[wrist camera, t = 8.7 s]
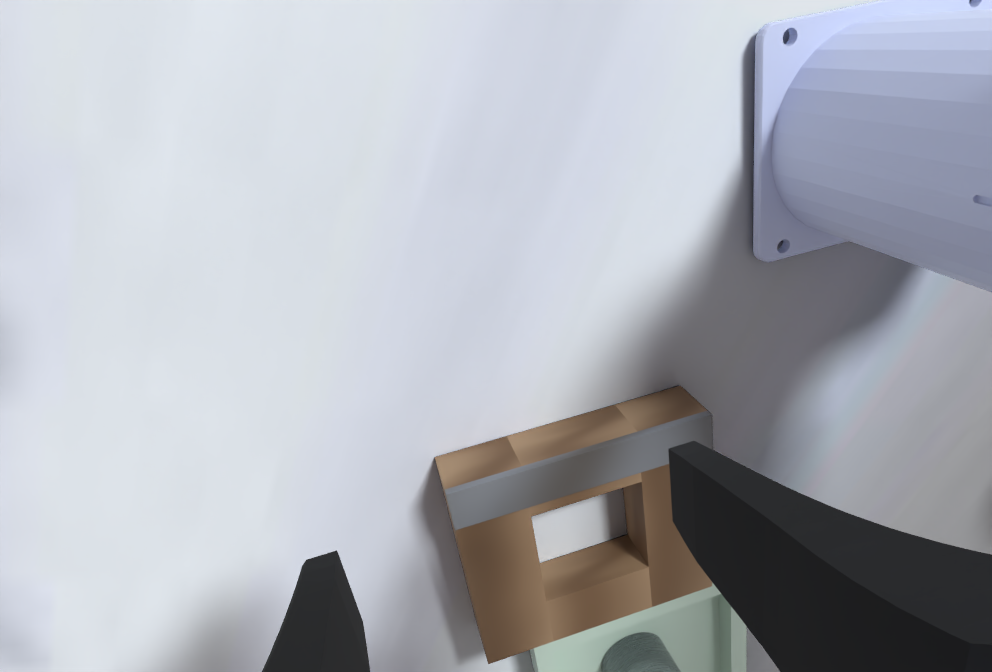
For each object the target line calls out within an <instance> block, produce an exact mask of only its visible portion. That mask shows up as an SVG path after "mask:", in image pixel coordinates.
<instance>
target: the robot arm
mask: <svg viewBox="0 0 992 672" xmlns="http://www.w3.org/2000/svg"><path fill="white" fill-rule="evenodd" d="M786 30H788V31H789V40H788V41H787V43H786V44H784V43H783V34H784V32H785V31H786ZM782 240H783V244H782V246H781V248H780V249H778V250H777V246H778V244H779V242H780V241H782ZM848 241H850V242H853V243H856V244H859V245H861V246H864V247H867V248H870V249H872V250H875V251H878V252H881V253H884V254H886V255H889V256H892V257H895V258H898V259H900V260H903V261H906V262H909V263H911V264H914V265H917V266H920V267H923V268H925V269H928V270H931V271H934V272H937V273H939V274H942V275H945V276H948V277H950V278H953V279H956V280H959V281H962V282H964V283H967V284H970V285H973V286H976V287H978V288H981V289H984V290H987V291H989V292H992V0H971V3H970V4H969V0H880V1H875V2H870V3H865V4H860V5H855V6H850V7H845V8H840V9H835V10H830V11H825V12H820V13H815V14H810V15H805V16H800V17H795V18H790V19H785V20H780V21H775V22H770V23H768V24H765V25H764V26H763V27H762V28H761V29H760V30H759V32H758V34H757V36H756V41H755V116H754V219H753V252H754V255H755V257H756V258H757V259H759V260H761V261H764V262H772V261H776V260H780V259H784V258H787V257H791V256H795V255H799V254H802V253H806V252H810V251H814V250H818V249H821V248H825V247H829V246H833V245H836V244H840V243H844V242H848ZM668 452H669V469H670V486H671V503H672V520H673V523H674V524H675V526H676V528H677V530H678V531H679V533H680V535H681V537H682V538H683V540H684V542H685V544H686V545H687V547H688V548H689V550H690V552H691V553H692V555H693V557H694V558H695V560H696V562H697V563H698V564H699V566H700V567H701V568H702V569H703V571H704V572H705V573H706V575H707V576H708V577H709V579H710V580H711V581H712V583H713V584H714V585H715V586H716V588H717V589H718V590H719V592H720V593H721V594H722V595H723V597H724V598H725V599H726V601H727V602H728V603H729V604H730V606H731V607H732V608H733V609H734V611H735V612H736V613H737V615H738V616H739V617H740V618H741V620H742V621H743V622H744V624H745V625H746V626H747V627H748V629H749V630H750V631H751V632H752V634H753V635H754V636H755V638H756V639H757V640H758V641H759V643H760V644H761V645H762V646H763V648H764V649H765V651H766V652H767V653H768V655H769V656H770V658H771V659H772V660H773V662H774V663H775V665H776V666H777V667H778V669H779V670H780V672H992V555H991V554H986V553H981V552H977V551H972V550H968V549H964V548H959V547H955V546H951V545H947V544H943V543H940V542H936V541H932V540H929V539H925V538H922V537H918V536H915V535H911V534H908V533H904V532H901V531H898V530H895V529H891V528H888V527H885V526H882V525H879V524H877V523H874V522H871V521H868V520H865V519H862V518H860V517H857V516H854V515H851V514H848V513H846V512H843V511H841V510H838V509H836V508H833V507H831V506H828V505H826V504H824V503H821V502H819V501H817V500H814V499H812V498H810V497H807V496H805V495H803V494H800V493H798V492H796V491H794V490H792V489H790V488H787V487H785V486H783V485H781V484H779V483H777V482H775V481H773V480H771V479H769V478H767V477H765V476H763V475H761V474H759V473H757V472H755V471H753V470H751V469H749V468H747V467H745V466H743V465H741V464H739V463H737V462H735V461H733V460H731V459H729V458H727V457H725V456H723V455H722V454H720V453H718V452H716V451H714V450H712V449H710V448H708V447H706V446H704V445H702V444H700V443H698V442H696V441H691V442H688V443H685V444H682V445H678V446H675V447H672V448H669V449H668ZM262 672H370V668H369V660H368V653H367V646H366V639H365V632H364V626H363V621H362V618H361V615H360V613H359V610H358V607H357V604H356V602H355V599H354V596H353V593H352V591H351V588H350V585H349V582H348V580H347V577H346V574H345V571H344V569H343V566H342V563H341V560H340V558H339V555H338V552H337V551H334V552H331V553H327V554H324V555H321V556H318V557H314V558H311V559H308V560H306V561H305V563H304V564H303V566H302V569H301V572H300V575H299V578H298V581H297V585H296V588H295V591H294V594H293V596H292V599H291V602H290V605H289V607H288V610H287V613H286V616H285V618H284V621H283V623H282V626H281V628H280V631H279V633H278V636H277V638H276V641H275V643H274V645H273V648H272V650H271V653H270V655H269V657H268V660H267V662H266V664H265V666H264V668H263V671H262Z"/></svg>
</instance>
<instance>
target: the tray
mask: <svg viewBox="0 0 992 672" xmlns="http://www.w3.org/2000/svg"><path fill="white" fill-rule="evenodd" d="M641 632H649V633H653V634H655V635H657V636H659V637H660V639H661V640H662V642H663V643H664V645H665V647H666V648H667V650H668V651H669V653H670V655H671V656H672V658H673V660H674V661H675V663H676V664H677V666H678V668H679V669H680V671H681V672H746V638H747V626H746V625H745V624H744V622H743V621H742V620H741V618H740V617H739V616H738V615H737V613H736V612H735V611H734V609H733V608H732V607H731V606H730V604H729V603H728V602H727V601H726V599H725V598H724V597H723V595H722V594H721V593H720V592H719V590H718V589H717V588H716V586H715V585H714V584H713V583H712V586H711V587H708V588H706V589H703V590H700V591H697V592H694V593H691V594H688V595H685V596H683V597H680V598H677V599H674V600H671V601H668V602H665V603H662V604H660V605H657V606H654V607H651V608H648V609H645V610H642V611H640V612H637V613H634V614H631V615H628V616H625V617H622V618H619V619H617V620H614V621H611V622H608V623H605V624H602V625H599V626H596V627H594V628H591V629H588V630H585V631H582V632H579V633H576V634H573V635H571V636H568V637H565V638H562V639H559V640H556V641H553V642H550V643H548V644H545V645H542V646H539V647H536V648H533V649H530V654H531V659H532V664H533V669H534V672H602V670H601V665H602V661H603V658H604V656H605V655H606V653H607V652H608V650H609V649H610V648H611V647H612V646H613V645H614V644H616V643H617V642H618V641H620V640H621V639H623V638H625V637H627V636H629V635H632V634H635V633H641Z"/></svg>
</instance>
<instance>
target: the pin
mask: <svg viewBox="0 0 992 672" xmlns="http://www.w3.org/2000/svg"><path fill="white" fill-rule="evenodd" d="M601 670H602V672H681V671H680V669H679V668H678V666H677V664H676V663H675V661H674V660H673V658H672V656H671V655H670V653H669V651H668V650H667V648H666V647H665V645H664V643H663V642H662V640H661V639H660V637H659V636H657V635H655V634H653V633H649V632H641V633H635V634H632V635H629V636H627V637H625V638H623V639H621V640H620V641H618V642H617V643H616V644H614V645H613V646H612V647H611V648H610V649H609V650H608V652H607V653H606V655H605V656H604V658H603V661H602V665H601Z"/></svg>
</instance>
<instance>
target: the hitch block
mask: <svg viewBox="0 0 992 672" xmlns="http://www.w3.org/2000/svg"><path fill="white" fill-rule="evenodd" d="M691 441H696V442H698V443H700V444H702V445H704V446H706V447H708V448H710V449H712V450H713V433H712V414H711V413H710V412H709V411H708V410H707V409H706V408H704V407H703V406H702V405H701V404H700V403H699V402H698V401H697V400H696V399H695V398H694V397H692V396H691V395H690V394H689V393H688V392H687V391H686V390H685V389H684V388H683V387H681V386H677V387H674V388H670V389H667V390H663V391H660V392H656V393H653V394H650V395H646V396H643V397H639V398H636V399H632V400H629V401H626V402H622V403H619V404H615V405H612V406H608V407H605V408H602V409H598V410H595V411H591V412H588V413H584V414H581V415H578V416H574V417H571V418H567V419H564V420H560V421H557V422H554V423H550V424H547V425H543V426H540V427H536V428H533V429H530V430H526V431H523V432H519V433H516V434H513V435H509V436H506V437H502V438H499V439H495V440H492V441H489V442H485V443H482V444H478V445H475V446H471V447H468V448H465V449H461V450H458V451H454V452H451V453H447V454H444V455H441V456H437V457H435V460H436V464H437V468H438V472H439V476H440V480H441V484H442V488H443V492H444V496H445V500H446V504H447V508H448V512H449V516H450V520H451V523H452V527H453V531H454V535H455V539H456V543H457V547H458V551H459V555H460V559H461V563H462V567H463V571H464V575H465V579H466V583H467V587H468V590H469V594H470V598H471V602H472V606H473V610H474V614H475V618H476V622H477V626H478V629H479V633H480V636H481V640H482V643H483V647H484V650H485V654H486V657H487V661H488V664H490V663H493V662H496V661H499V660H502V659H505V658H507V657H510V656H513V655H516V654H519V653H522V652H525V651H528V650H530V649H533V648H536V647H539V646H542V645H545V644H548V643H550V642H553V641H556V640H559V639H562V638H565V637H568V636H571V635H573V634H576V633H579V632H582V631H585V630H588V629H591V628H594V627H596V626H599V625H602V624H605V623H608V622H611V621H614V620H617V619H619V618H622V617H625V616H628V615H631V614H634V613H637V612H640V611H642V610H645V609H648V608H651V607H654V606H657V605H660V604H662V603H665V602H668V601H671V600H674V599H677V598H680V597H683V596H685V595H688V594H691V593H694V592H697V591H700V590H703V589H706V588H708V587H711V586H712V581H711V580H710V579H709V577H708V576H707V575H706V573H705V572H704V571H703V569H702V568H701V567H700V566H699V564H698V563H697V562H696V560H695V558H694V557H693V555H692V553H691V552H690V550H689V548H688V547H687V545H686V544H685V542H684V540H683V538H682V537H681V535H680V533H679V531H678V530H677V528H676V526H675V524H674V523H673V520H672V503H671V486H670V469H669V452H668V449H669V448H672V447H675V446H678V445H682V444H685V443H688V442H691ZM620 488H623V493H624V503H625V513H626V523H627V534H628V535H625V536H622V537H619V538H616V539H613V540H610V541H607V542H604V543H600V544H597V545H594V546H591V547H588V548H585V549H582V550H579V551H576V552H573V553H570V554H567V555H564V556H561V557H558V558H555V559H552V560H548V561H545V562H542V563H539V558H538V552H537V547H536V541H535V536H534V530H533V525H532V519H531V516H534V515H537V514H541V513H544V512H547V511H550V510H553V509H557V508H560V507H563V506H566V505H569V504H572V503H576V502H579V501H582V500H585V499H588V498H592V497H595V496H598V495H601V494H604V493H607V492H611V491H614V490H617V489H620Z"/></svg>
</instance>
